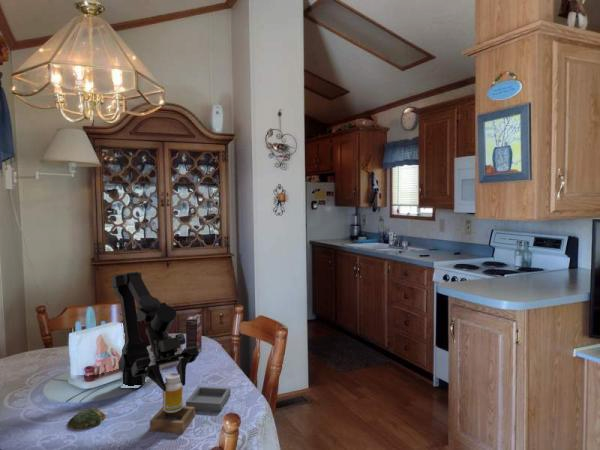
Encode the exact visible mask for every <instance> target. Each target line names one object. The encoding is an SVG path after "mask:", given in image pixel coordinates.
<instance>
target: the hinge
mask: <svg viewBox="0 0 600 450" xmlns="http://www.w3.org/2000/svg"><path fill="white" fill-rule="evenodd" d="M180 346H181V348H177V350H178V351H177V352H176V353H175V355H176V354H181V353H182V351H183V350H184V349H183V347H182V345H180ZM150 348H151V345H150V346H148V347H147V350H148V352H149V354H150V355H149V358H150V360H153V359H155V358H154V355H153V352H151V350H150ZM174 365H178V364H177V361H176V362H172V363H167V364H163V365H159V367H160V370H162V369H165V368H168V367H170V366H171V367H172V366H174Z"/></svg>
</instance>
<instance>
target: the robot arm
mask: <svg viewBox="0 0 600 450" xmlns="http://www.w3.org/2000/svg"><path fill="white" fill-rule="evenodd" d="M142 277H143V276H142V272H140V271H130V272H126V273H122V274H121V273H120V274H115V275H114V277H112V278H111V288H112V289H113V294H115V296H116V297H117V298H118V299H119V301H120V308H121V309H120V310H121V313H122V315H121V316H122V320H123V324H124V332H125V339H126V342H125V343H124V345H123V346H122V349H121V356H120V358H119V359H118V364H117V365H118V370H120V371H121V372H122V385H123V384H125V385H128V386H134V385H142V384H143V383H144V382H145V380H146V377H147V378H149V379H151V380H152V381H153V382H154V383H155V384H156V385H157V386H158V388H159V389H161V390H162V392H163V391H166V387H165V383H166V382H165V381H164V379H163V375H162V373H161V369H160V367H159V365H163V364H167V363H172V362H176V361H177V364H176V367H175V368H176V373H178V374H179V375H180V380H179V381H181V382H182V387H184V386H185V385H186V374H187V373H186V370H187V364H191V363H193V362H195V361H196V359H197V357H198V356H199V355H200V353H199V351H198V348H197V347H195V346H193V347H188V348H186V347H185V348H183V349H182V350H183V351H182V353H181V354H176V355H175V353H176V352H177V351H178V350H177V348H181V347H182V346H183V345H186V336H185V334H184V333H183V332H182V333H177V334H176V335H175V337H172V336H171V335H169V332H168V331H169V329H170V328H171V326H172V324H173V323H174V321H175V319H176V317H177V312H176V310H175V308H173V307H172V306H170V305H168V304H167V303H166V302H161V301H160V300H159V299H158V298H157V297H153V295H151V293H150V291H149V289H148V287H147V285H146V284H145V282H144V279H143V278H142ZM136 305H137V308H136ZM137 318H138V320H140V322H141V323H147V322H151V323H149V324H148V326H147V328H146V335H148V338H149V341H150V345H151V348H150V350H151V352H153V355H154V358H155V359H153V360H150V358H149V355H150V354H149V352H148V350H147V345H146V342H143V341H142V340H141V338H140V335H139V328H138V321H137ZM180 345H181V346H180ZM145 383H146V382H145ZM145 383H144V384H145ZM144 384H143V385H144ZM143 385H142V386H143Z"/></svg>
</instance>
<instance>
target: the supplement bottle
mask: <svg viewBox="0 0 600 450" xmlns="http://www.w3.org/2000/svg"><path fill="white" fill-rule="evenodd" d="M164 380H165V381H164V383H165V387H166V391H163V390H162V407H163V410H164V411H165V412H168V413H174V412H177V411H179V410H181V409H182V406H184V405H183V385H182V382H181V381H180V375H179V374H178V372H173V373H172V372H170V373H168V374H166V375H165V379H164Z"/></svg>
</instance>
